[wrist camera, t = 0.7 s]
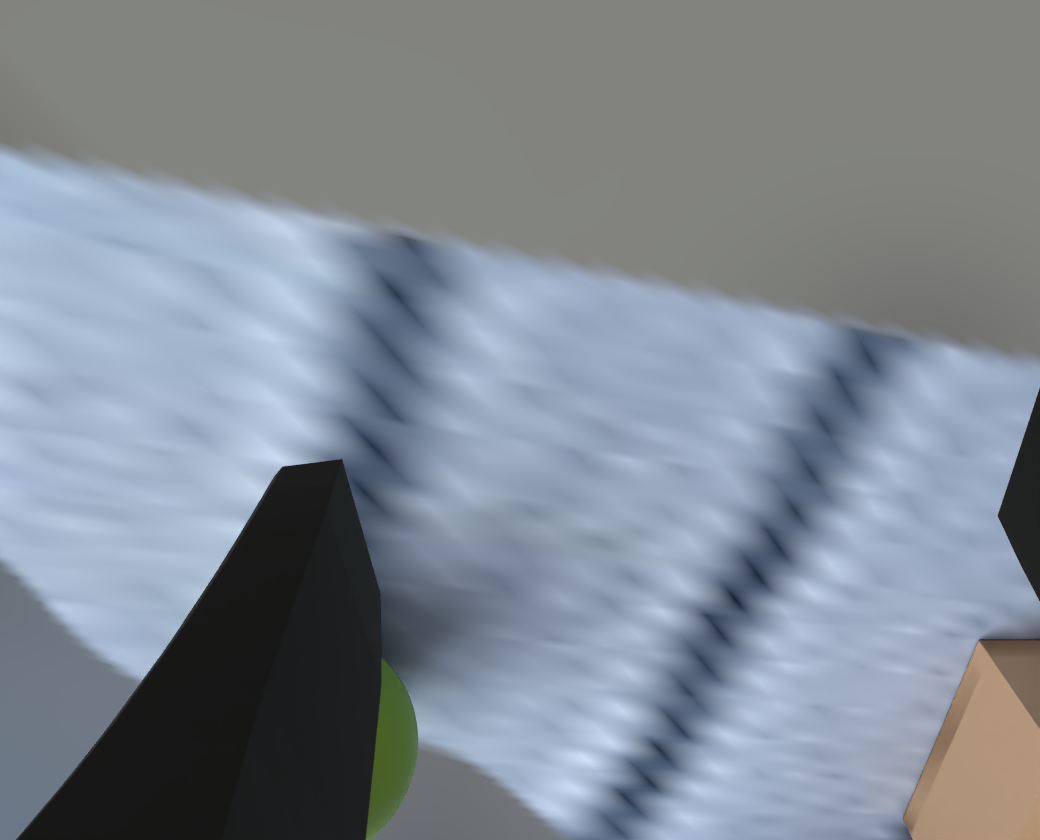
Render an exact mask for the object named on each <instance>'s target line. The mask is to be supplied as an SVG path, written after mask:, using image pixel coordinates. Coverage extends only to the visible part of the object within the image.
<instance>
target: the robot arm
mask: <svg viewBox="0 0 1040 840" xmlns="http://www.w3.org/2000/svg"><path fill="white" fill-rule="evenodd" d="M998 517H999V519H1000V522H1001V524H1002V526H1003V528H1004V530H1005V532H1006V534H1007V537H1008V539H1009V541H1010V543H1011V545H1012V547H1013V549H1014V552H1015V554H1016V556H1017V558H1018V560H1019V562H1020V564H1021V566H1022V568H1023V570H1024V572H1025V574H1026V576H1027V578H1028V580H1029V582H1030V583H1031V585H1032V587H1033V589H1034V591H1035V593H1036V595H1037V597H1038V599H1039V601H1040V389H1039V392H1038V395H1037V398H1036V401H1035V404H1034V407H1033V411H1032V414H1031V417H1030V420H1029V423H1028V426H1027V429H1026V432H1025V435H1024V438H1023V441H1022V444H1021V447H1020V450H1019V453H1018V456H1017V459H1016V462H1015V465H1014V468H1013V471H1012V474H1011V477H1010V480H1009V483H1008V486H1007V489H1006V492H1005V495H1004V498H1003V501H1002V505H1001V508H1000V511H999V514H998ZM381 684H382V677H381V601H380V591H379V587H378V584H377V580H376V577H375V573H374V570H373V566H372V563H371V559H370V556H369V552H368V549H367V545H366V542H365V538H364V535H363V531H362V528H361V524H360V521H359V517H358V514H357V510H356V507H355V503H354V500H353V496H352V493H351V489H350V486H349V482H348V479H347V475H346V472H345V468H344V465H343V461H342V459H341V460H333V461H325V462H317V463H309V464H301V465H293V466H285V467H282V468H281V469H280V470H279V472H278V473H277V474H276V475H275V476H274V478H273V480H272V481H271V483H270V485H269V486H268V488H267V490H266V491H265V493H264V495H263V496H262V498H261V500H260V501H259V503H258V505H257V506H256V508H255V510H254V511H253V513H252V515H251V516H250V518H249V520H248V522H247V523H246V525H245V526H244V528H243V530H242V531H241V533H240V535H239V536H238V538H237V540H236V541H235V543H234V545H233V546H232V548H231V549H230V551H229V553H228V554H227V556H226V557H225V559H224V561H223V562H222V564H221V565H220V567H219V569H218V570H217V572H216V573H215V575H214V577H213V578H212V580H211V581H210V583H209V584H208V586H207V587H206V589H205V590H204V592H203V593H202V595H201V596H200V598H199V599H198V601H197V602H196V604H195V605H194V607H193V608H192V610H191V611H190V613H189V614H188V616H187V617H186V619H185V621H184V622H183V624H182V625H181V627H180V628H179V630H178V631H177V633H176V634H175V636H174V637H173V639H172V640H171V641H170V643H169V644H168V646H167V647H166V649H165V650H164V652H163V653H162V654H161V656H160V657H159V659H158V660H157V661H156V663H155V664H154V665H153V667H152V668H151V669H150V671H149V672H148V674H147V675H146V676H145V678H144V679H143V680H142V682H141V683H140V685H139V686H138V687H137V689H136V690H135V691H134V693H133V694H132V695H131V697H130V698H129V700H128V701H127V702H126V704H125V705H124V706H123V708H122V709H121V710H120V712H119V713H118V715H117V716H116V717H115V719H114V720H113V721H112V723H111V724H110V726H109V727H108V728H107V729H106V731H105V732H104V733H103V735H102V736H101V737H100V739H99V740H98V741H97V742H96V744H95V745H94V746H93V747H92V749H91V750H90V751H89V752H88V754H87V755H86V756H85V757H84V759H83V760H82V761H81V763H80V764H79V765H78V766H77V768H76V769H75V770H74V771H73V772H72V774H71V775H70V776H69V777H68V779H67V780H66V781H65V782H64V784H63V785H62V786H61V787H60V788H59V790H58V791H57V792H56V793H55V795H54V796H53V797H52V798H51V799H50V801H49V802H48V803H47V804H46V805H45V806H44V807H43V809H42V810H41V811H40V812H39V813H38V814H37V816H36V817H35V818H34V819H33V820H32V822H31V823H30V824H29V825H28V826H27V827H26V829H25V830H24V831H23V832H22V833H21V834H20V836H19V837H18V838H17V839H16V840H366V832H367V822H368V813H369V803H370V794H371V784H372V775H373V765H374V756H375V746H376V736H377V726H378V716H379V706H380V695H381Z"/></svg>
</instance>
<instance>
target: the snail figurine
mask: <svg viewBox="0 0 1040 840" xmlns="http://www.w3.org/2000/svg"><path fill="white" fill-rule="evenodd" d="M381 677H382V684H381V695H380V706H379V716H378V726H377V736H376V746H375V756H374V765H373V775H372V784H371V794H370V803H369V813H368V822H367V832H366V840H371V839H372V838H373V837H374V836H375V835H376V834H378V833H379V832H380V831H381V829H383V827H384V826H385V825H386V824H387V823H388V822H389V821H390V819H391V818H392V816H393V815H394V814H395V812H396V811H397V809H398V808H399V806H400V804H401V803H402V801H403V799H404V797H405V795H406V793H407V790H408V788H409V785H410V783H411V780H412V777H413V773H414V769H415V765H416V759H417V751H418V730H417V722H416V717H415V712H414V708H413V705H412V702H411V699H410V697H409V695H408V692H407V690H406V688H405V686H404V685H403V683H402V681H401V680H400V678H399V677H398V675H397V674H396V672H395V671H394V670H393V669H392V667H391V666H390V665H389V664H388V663H387V662H386V661H385V660H384V659H383V658H382V657H381Z"/></svg>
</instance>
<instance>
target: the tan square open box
mask: <svg viewBox="0 0 1040 840" xmlns="http://www.w3.org/2000/svg"><path fill="white" fill-rule="evenodd" d="M903 820H904V822H905V824H906V826H907V829H908V831H909V833H910V835H911V837H912V839H913V840H1040V640H979V641H978V644H977V646H976V648H975V651H974V653H973V655H972V658H971V660H970V662H969V665H968V667H967V669H966V672H965V674H964V676H963V679H962V681H961V683H960V686H959V688H958V690H957V693H956V695H955V698H954V700H953V702H952V705H951V707H950V709H949V712H948V714H947V716H946V719H945V721H944V723H943V726H942V728H941V730H940V733H939V735H938V737H937V740H936V742H935V744H934V747H933V749H932V751H931V754H930V756H929V759H928V761H927V763H926V766H925V768H924V770H923V773H922V775H921V777H920V780H919V782H918V784H917V787H916V789H915V791H914V794H913V796H912V798H911V801H910V803H909V805H908V808H907V810H906V813H905V815H904V817H903Z"/></svg>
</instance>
